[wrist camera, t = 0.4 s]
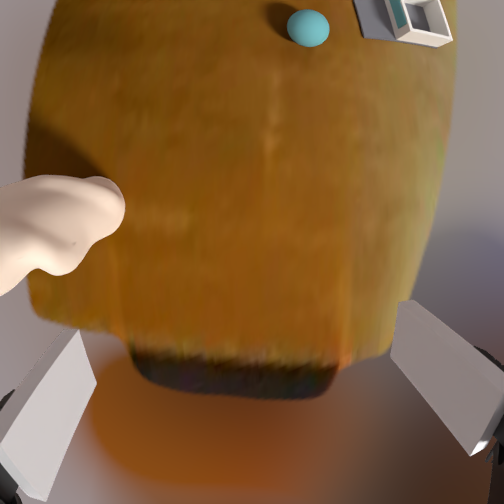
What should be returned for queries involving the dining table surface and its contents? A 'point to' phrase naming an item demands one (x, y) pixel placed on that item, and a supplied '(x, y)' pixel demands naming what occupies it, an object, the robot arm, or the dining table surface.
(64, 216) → the water bottle
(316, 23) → the ball teal
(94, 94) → the dining table surface
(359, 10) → the mat
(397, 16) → the white square bin
